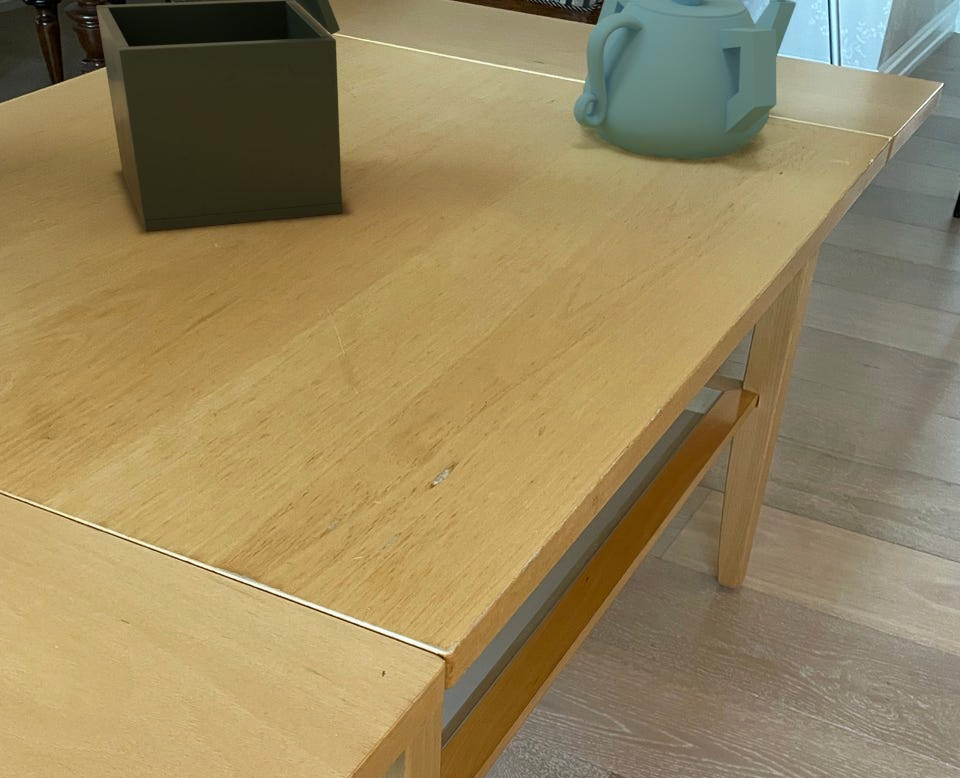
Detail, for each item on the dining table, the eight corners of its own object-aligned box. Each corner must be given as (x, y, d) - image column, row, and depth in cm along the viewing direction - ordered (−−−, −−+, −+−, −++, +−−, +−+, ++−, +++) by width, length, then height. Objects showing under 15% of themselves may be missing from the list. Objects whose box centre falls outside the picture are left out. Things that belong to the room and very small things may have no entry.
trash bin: (146, 231, 89) (119, 49, 80) (122, 173, 98) (96, 5, 90) (342, 213, 93) (336, 39, 85) (301, 158, 103) (292, -2, 94)
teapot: (752, 177, 104) (784, 5, 95) (547, 149, 108) (559, -18, 99) (774, 119, 118) (803, -35, 109) (591, 96, 122) (605, -54, 113)
